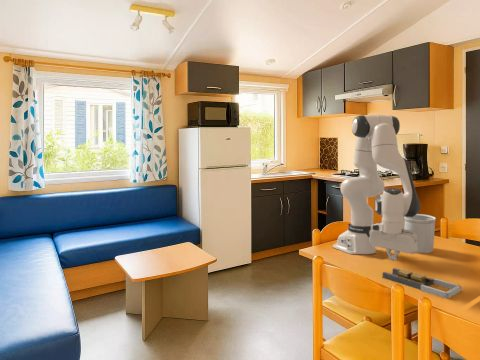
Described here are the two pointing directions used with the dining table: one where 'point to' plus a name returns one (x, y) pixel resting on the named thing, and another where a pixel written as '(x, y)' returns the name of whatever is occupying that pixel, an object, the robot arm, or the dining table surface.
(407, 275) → the tan yellow cube
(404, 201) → the robot arm
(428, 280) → the slot bed
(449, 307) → the dining table surface
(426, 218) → the utensil holder
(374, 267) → the dining table surface
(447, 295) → the tray
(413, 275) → the yellow cube
